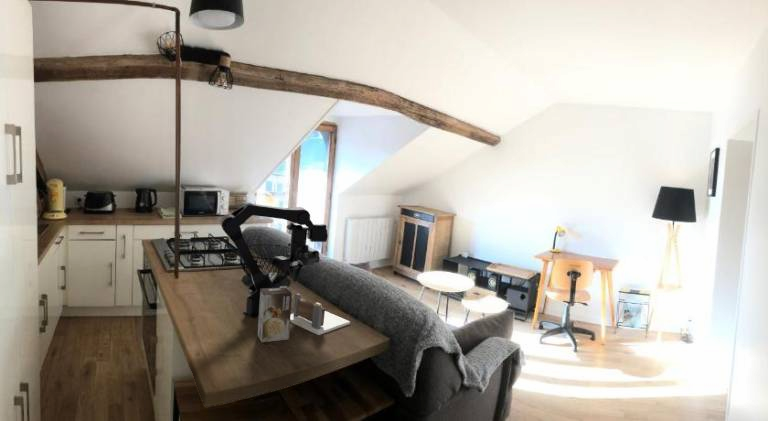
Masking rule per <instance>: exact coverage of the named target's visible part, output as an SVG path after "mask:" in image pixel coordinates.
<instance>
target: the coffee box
mask: <svg viewBox="0 0 768 421" xmlns="http://www.w3.org/2000/svg"><path fill="white" fill-rule="evenodd" d="M292 298H293V293H292V291H291V290H290V289H289V288H288V287H285V286H284V287H273V288H264V289H260V305H259V316H258V321H257V322H258V323H257V336H258V338H259V340H260V342H261V343H268V342H277V341H278V342H279V341H287V340H289V339H290V330H291V329H290V328H291V322H290V316H291V314H292V302H293V300H292Z"/></svg>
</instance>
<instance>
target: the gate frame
mask: <svg viewBox="0 0 768 421" xmlns="http://www.w3.org/2000/svg"><path fill="white" fill-rule="evenodd" d="M301 296H302V295H301V293H295V294H294V303H293V304H294V305H293V313H291V316H290V323H292V324H293V325H296V326H298V327H300V328H302V329H304V330H307V331H309V332H311V333H313V334H316V335H317V336H321V335H323V334H327V333H329V332H331V331H334V330H337V329H340V328H343V327H345V326H348V325H350V324H351V321H350V320H348V319H345V318H343V317H340V316H338V315H336V314H333V313H331V312H329V311H326V310H325V314H324V324H323V325H322V326H321V318H322V308H324V307H323V306H322V303H320V302H315V303H314V304H315V305H314V306H313V317H312V322H311V321H309V320H306V319H304V318H302V317H300V316H298V309H299V302H298V300H300V299H301Z"/></svg>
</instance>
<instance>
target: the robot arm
mask: <svg viewBox="0 0 768 421" xmlns="http://www.w3.org/2000/svg"><path fill="white" fill-rule="evenodd" d="M252 216H255V217H256V216H257V217H263V218H270V219H280V220H285V221H288V222H290V223H289V224H288V225H286V229H287V230H289V231H291V234H290V235H291V236H290V242H288V243H287V245H288V247H289V253H287V254H286V256H283V255H278V256H273V258H272V261H271V265H273V266H275V267H278V268H280V269H285V268H287V270H288V271H289V274H290V277H291V281H292V282H293V283H297V281H298V279H299V277H300V274H301V273H302V271H303V269H304V268H305V267H308V266H314V265H315V263H319V262H320V258H321V257H320V252H319V251H318V250H310V249H309V245H308V244H307V239H308V240H309V241H310V242H311V243H312V242H313V243H326V242H327V240H328V237H329V236H328V235H329V234H328V229H327V225H326V224H325V223H321V224H319V223H317V224H315V223H313V221H312V220H311V214H310V212H309V211H308V210H306V209H305V208H303V207H302V206H293V207H280V206H279V207H278V206H277V207H276V206H271V205H262V204H256V203H253V202H248V203H245V204H244V205H242V207H241V206H240V208H239V207H238V208H237V209H235V210H234V211H233V212H231V213H227V214H225V215H223V216H222V217H221V218H220V221H219V222H220V226H221V229H222V230H223V232H224V233H225V234H226V235H227V237H228V238H229V239H230V240H231V241H232V242H233V244H234V246H235V247H236V249H237V251H238V253H239V255H240V257H241V258H242V260H243V262H244V264H245V266H246V268H247V269H248V271H249V273H250V277H251V280H252V284H251V285H250V286H249V287H248V288H247V293H248V294H249V296H247V297H246V308H245V310H243V311H242V312H243V313H244V314H245V315H247V316H250V317H251V318H259V305H260V289H264V288H274V286H273V284H274V283H273V281H272V279H271V277H270V275H269V272H268V271H267V269H264V270H262V269H261V268H260V266H259V264H258V263H257V261H256V259H255V256H254V255H253V253H252V251H251V249H250V248H249V246H248V243H246V241H245V240H246V239H244V236H243V231H242V228H241V226H242V225H244V223H246V221H247V220H249V219H250V218H251V217H252ZM304 226H306V227H304Z"/></svg>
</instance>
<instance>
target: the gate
mask: <svg viewBox="0 0 768 421" xmlns="http://www.w3.org/2000/svg"><path fill="white" fill-rule="evenodd" d="M298 302H299V309H298V316H300V317H302V318H304V319H306V320H309V321H311V322H312V317H313V306H314V305H315V303H312V302H310V301H308V300H306V299H303V298H300V300H298ZM325 311H326V308H324V307H323V308H322V318H321V326H322V325H323V324H324V314H325Z"/></svg>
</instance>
